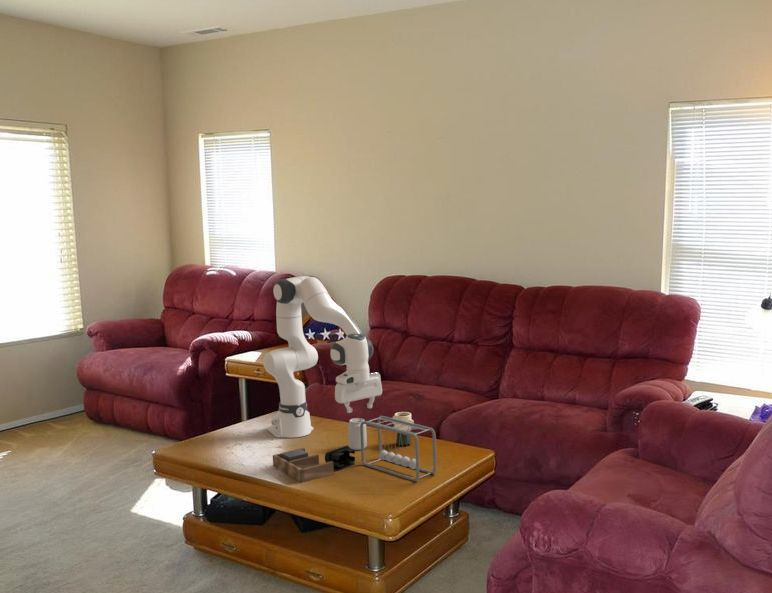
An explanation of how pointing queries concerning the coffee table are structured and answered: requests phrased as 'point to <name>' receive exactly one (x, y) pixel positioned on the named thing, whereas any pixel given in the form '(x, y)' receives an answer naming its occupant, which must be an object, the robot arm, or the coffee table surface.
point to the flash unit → (294, 455)
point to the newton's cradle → (398, 458)
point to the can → (356, 434)
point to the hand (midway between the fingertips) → (359, 410)
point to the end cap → (340, 457)
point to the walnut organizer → (303, 467)
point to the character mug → (403, 427)
